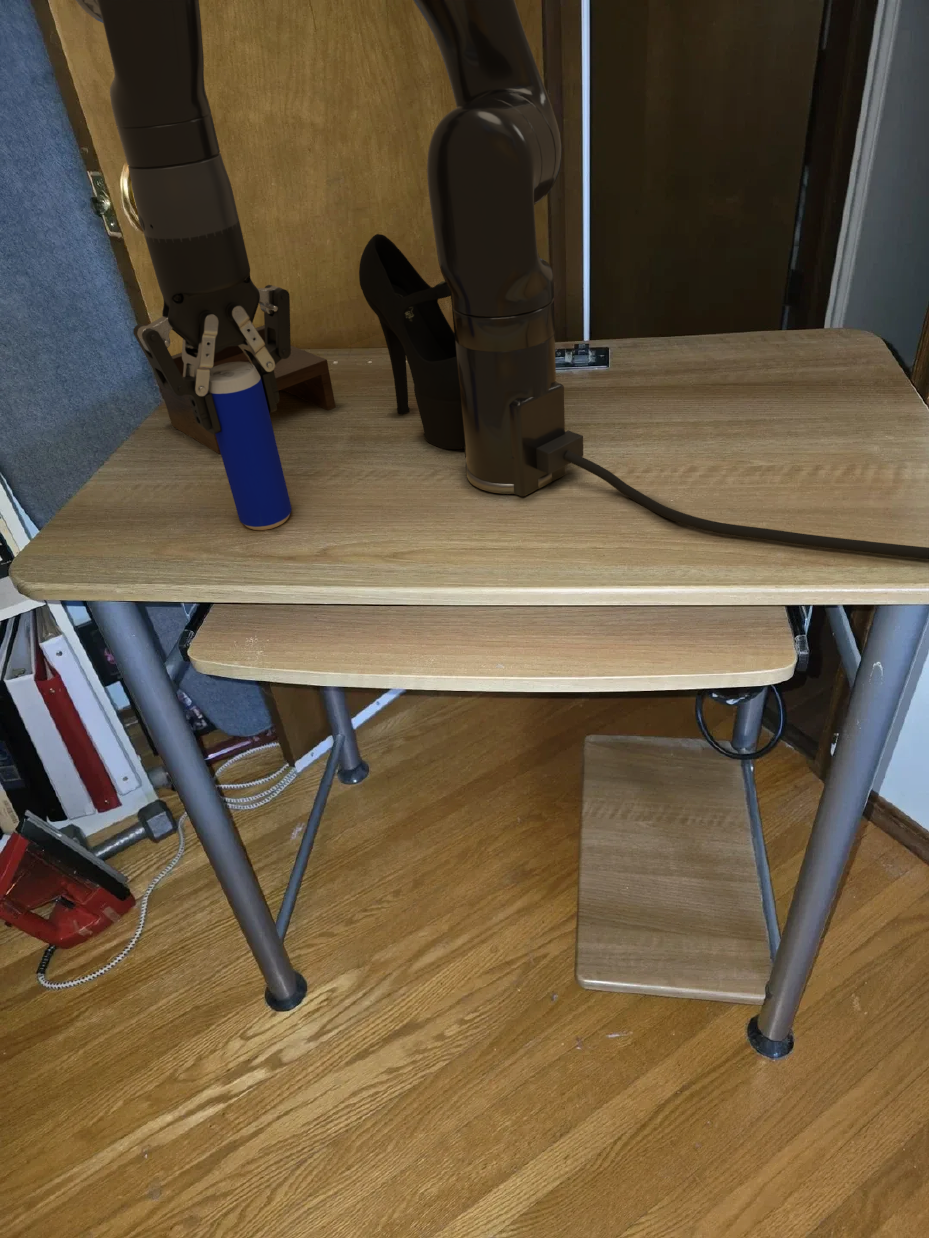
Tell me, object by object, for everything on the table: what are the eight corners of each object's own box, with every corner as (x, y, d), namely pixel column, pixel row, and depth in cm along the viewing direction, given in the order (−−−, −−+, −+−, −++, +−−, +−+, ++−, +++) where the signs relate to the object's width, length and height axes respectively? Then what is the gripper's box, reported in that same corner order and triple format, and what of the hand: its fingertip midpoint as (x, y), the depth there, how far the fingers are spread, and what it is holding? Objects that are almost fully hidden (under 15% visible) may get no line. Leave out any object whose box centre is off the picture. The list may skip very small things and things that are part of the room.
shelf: (336, 407, 107) (324, 342, 102) (219, 454, 99) (200, 386, 94) (284, 384, 115) (270, 322, 110) (172, 426, 107) (152, 362, 102)
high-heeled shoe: (466, 466, 91) (446, 266, 80) (364, 418, 104) (334, 239, 92) (523, 440, 95) (512, 245, 83) (417, 396, 108) (395, 222, 96)
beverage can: (300, 505, 88) (266, 359, 79) (282, 533, 84) (245, 382, 75) (252, 504, 89) (213, 360, 80) (232, 531, 85) (189, 383, 76)
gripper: (125, 251, 64) (189, 461, 74) (291, 207, 71) (329, 404, 81) (86, 237, 69) (151, 436, 79) (245, 197, 76) (286, 385, 86)
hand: (241, 419), depth 80 cm, fingers closed on beverage can, 5 cm apart
